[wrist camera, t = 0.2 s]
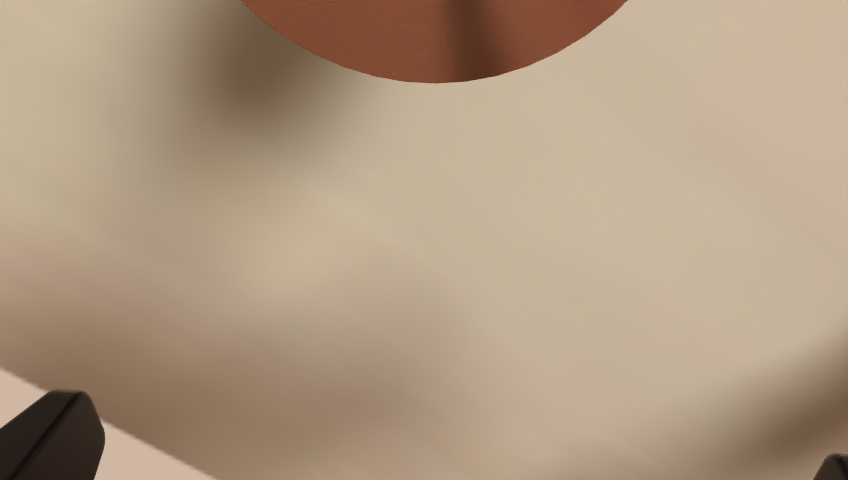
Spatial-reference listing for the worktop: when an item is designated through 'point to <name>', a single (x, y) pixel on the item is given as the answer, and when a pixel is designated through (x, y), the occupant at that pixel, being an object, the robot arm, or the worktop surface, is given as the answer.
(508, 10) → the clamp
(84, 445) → the robot arm
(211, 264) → the worktop surface
